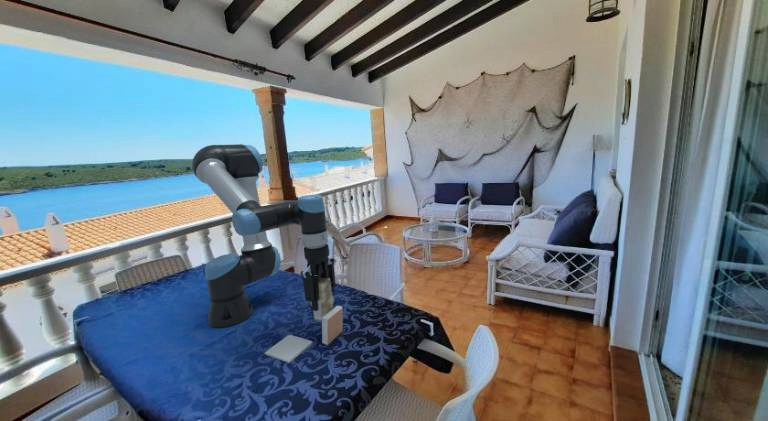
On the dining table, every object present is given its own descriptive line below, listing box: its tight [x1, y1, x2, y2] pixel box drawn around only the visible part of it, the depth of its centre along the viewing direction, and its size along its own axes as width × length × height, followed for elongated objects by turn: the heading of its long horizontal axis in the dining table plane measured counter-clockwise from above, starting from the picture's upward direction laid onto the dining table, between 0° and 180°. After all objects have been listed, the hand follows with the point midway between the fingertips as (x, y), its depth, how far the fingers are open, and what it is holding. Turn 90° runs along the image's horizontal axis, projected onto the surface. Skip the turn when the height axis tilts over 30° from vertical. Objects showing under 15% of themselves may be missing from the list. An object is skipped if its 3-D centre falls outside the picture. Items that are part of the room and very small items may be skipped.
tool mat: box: [264, 334, 314, 364], centre depth 92 cm, size 10×10×1 cm
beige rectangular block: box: [312, 278, 334, 323], centre depth 95 cm, size 4×4×13 cm
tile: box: [321, 305, 344, 346], centre depth 95 cm, size 2×8×9 cm, turn 152°
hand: (324, 314), depth 96 cm, fingers closed on beige rectangular block, 4 cm apart
